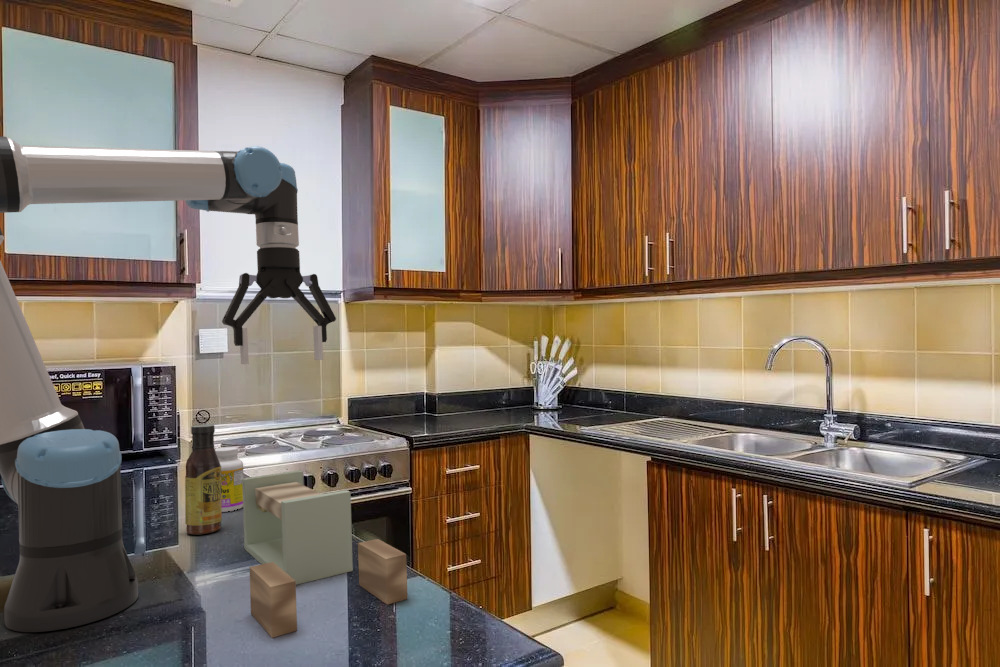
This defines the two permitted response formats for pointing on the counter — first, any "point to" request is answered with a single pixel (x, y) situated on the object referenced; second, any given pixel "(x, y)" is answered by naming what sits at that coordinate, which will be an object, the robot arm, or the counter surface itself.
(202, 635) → the counter surface
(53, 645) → the counter surface
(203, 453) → the sauce bottle
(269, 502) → the shelf board
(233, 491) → the supplement bottle
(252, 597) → the blocks
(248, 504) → the shelf frame
